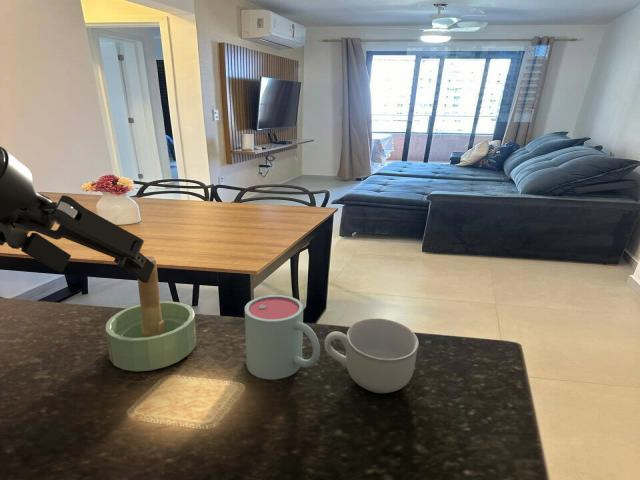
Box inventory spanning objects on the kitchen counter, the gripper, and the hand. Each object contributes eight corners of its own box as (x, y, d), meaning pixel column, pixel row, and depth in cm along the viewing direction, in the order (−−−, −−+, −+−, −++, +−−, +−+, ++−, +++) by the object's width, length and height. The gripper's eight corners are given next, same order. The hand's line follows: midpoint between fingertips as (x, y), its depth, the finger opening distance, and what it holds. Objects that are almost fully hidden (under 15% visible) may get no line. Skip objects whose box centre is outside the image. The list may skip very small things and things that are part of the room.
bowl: (92, 358, 63) (86, 325, 61) (159, 323, 74) (156, 295, 73) (148, 384, 57) (144, 349, 55) (212, 342, 68) (211, 312, 67)
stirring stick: (140, 350, 64) (129, 261, 60) (151, 341, 67) (141, 255, 63) (159, 353, 64) (149, 263, 59) (169, 343, 66) (161, 257, 62)
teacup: (417, 368, 63) (421, 325, 60) (409, 413, 53) (415, 362, 50) (335, 351, 67) (337, 310, 65) (315, 389, 57) (316, 342, 55)
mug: (234, 364, 62) (232, 308, 59) (273, 340, 69) (273, 290, 67) (298, 400, 54) (299, 338, 52) (335, 369, 62) (338, 314, 59)
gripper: (-167, 195, 36) (18, 283, 54) (57, 215, 31) (176, 304, 49) (-111, 135, 39) (44, 237, 57) (98, 145, 34) (195, 253, 53)
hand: (105, 268), depth 53 cm, fingers open, 13 cm apart
